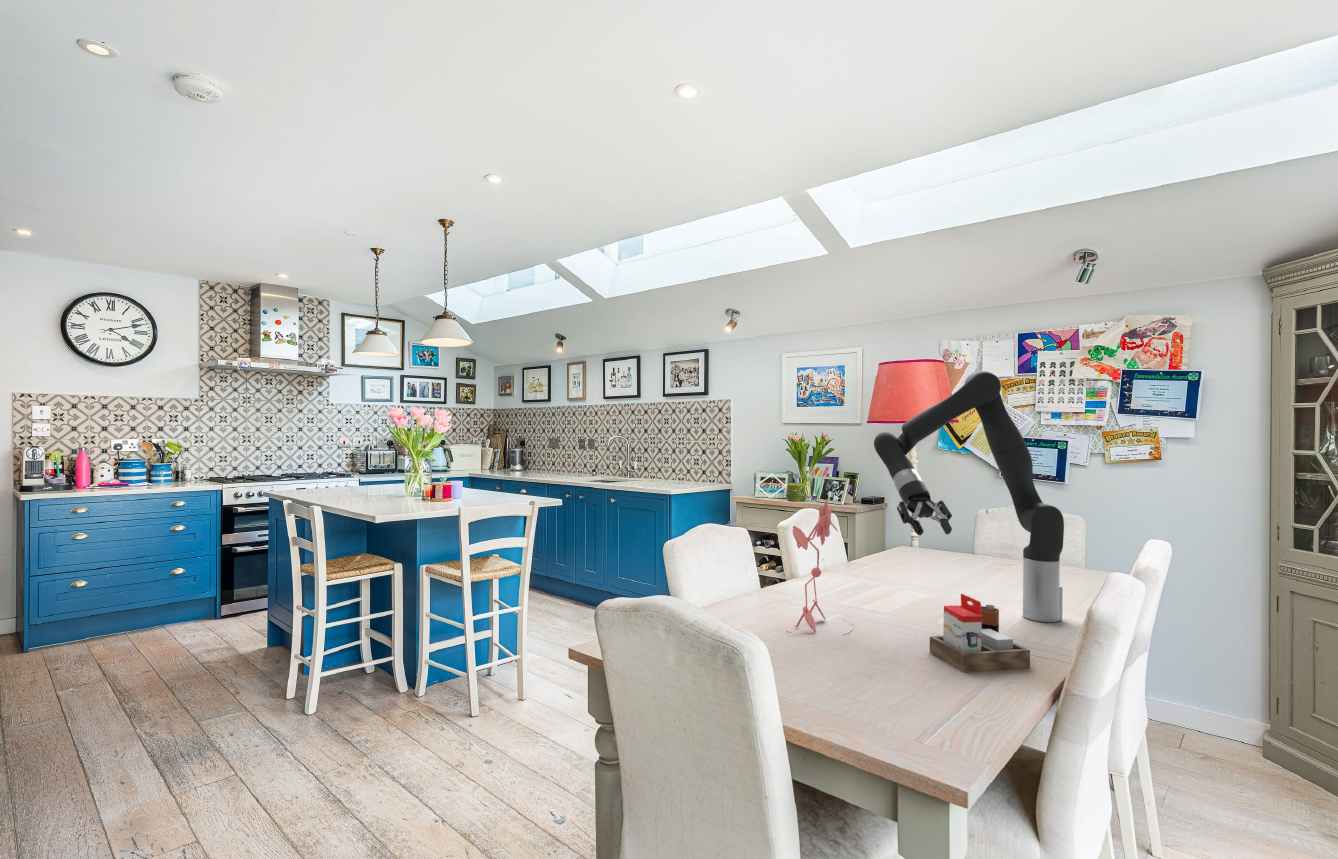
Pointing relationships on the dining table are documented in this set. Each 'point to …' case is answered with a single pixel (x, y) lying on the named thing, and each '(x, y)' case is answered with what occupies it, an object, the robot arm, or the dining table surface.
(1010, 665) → the slot rack
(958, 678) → the dining table surface
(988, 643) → the grey block
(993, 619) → the battery
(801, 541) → the figurine
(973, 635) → the ink box
